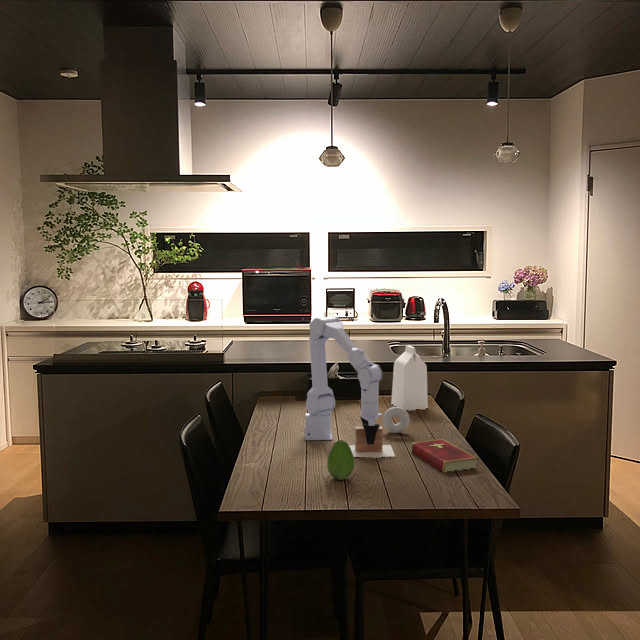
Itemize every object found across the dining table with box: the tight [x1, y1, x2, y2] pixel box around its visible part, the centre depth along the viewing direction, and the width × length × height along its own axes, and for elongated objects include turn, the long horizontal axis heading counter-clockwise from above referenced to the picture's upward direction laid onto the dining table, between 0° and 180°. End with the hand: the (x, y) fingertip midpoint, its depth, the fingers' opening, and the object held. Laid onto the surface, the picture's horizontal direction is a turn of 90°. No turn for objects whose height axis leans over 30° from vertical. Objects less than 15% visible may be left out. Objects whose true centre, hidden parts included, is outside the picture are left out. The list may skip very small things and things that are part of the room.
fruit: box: [326, 439, 355, 481], centre depth 202 cm, size 8×8×12 cm
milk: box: [390, 344, 429, 411], centre depth 287 cm, size 12×12×26 cm
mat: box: [348, 444, 396, 459], centre depth 228 cm, size 16×12×1 cm
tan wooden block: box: [354, 425, 384, 452], centre depth 227 cm, size 4×9×8 cm, turn 91°
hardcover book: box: [411, 438, 478, 473], centre depth 219 cm, size 12×21×4 cm, turn 20°
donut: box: [382, 406, 411, 434], centre depth 249 cm, size 10×4×10 cm, turn 91°
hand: (369, 440), depth 227 cm, fingers open, 7 cm apart
